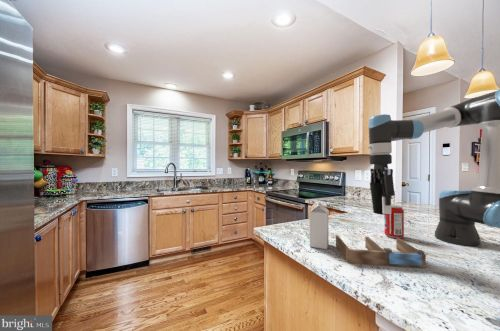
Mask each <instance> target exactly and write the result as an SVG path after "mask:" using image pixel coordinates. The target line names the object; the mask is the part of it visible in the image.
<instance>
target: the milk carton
mask: <svg viewBox="0 0 500 331" xmlns="http://www.w3.org/2000/svg"><path fill="white" fill-rule="evenodd" d="M329 235H330V234H329V209H328V208H327V207H326V206H325V205H323V204H322V203H321V200H319V201H318V202H317V204H316V203H314V204H313V205H311V210H309V247H310V248H315V249H316V248H317V249H322V250H328V248H329V240H330V238H329Z"/></svg>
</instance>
